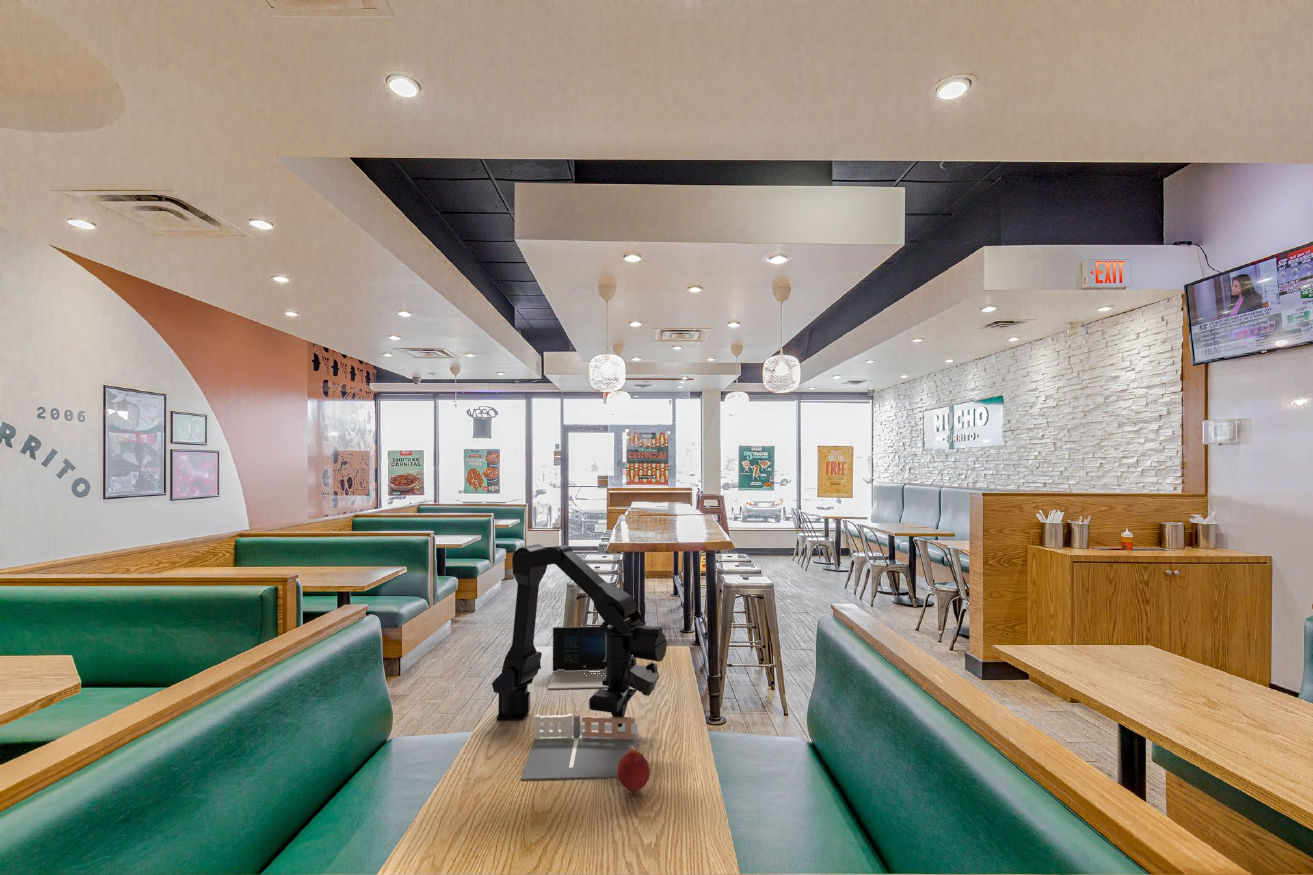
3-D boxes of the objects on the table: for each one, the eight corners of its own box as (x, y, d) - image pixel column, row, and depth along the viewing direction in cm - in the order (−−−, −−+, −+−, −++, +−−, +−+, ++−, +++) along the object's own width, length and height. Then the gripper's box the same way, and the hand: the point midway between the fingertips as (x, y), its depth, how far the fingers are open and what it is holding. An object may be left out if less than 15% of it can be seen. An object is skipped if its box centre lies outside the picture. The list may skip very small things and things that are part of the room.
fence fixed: (534, 739, 126) (535, 716, 126) (535, 737, 127) (535, 714, 127) (571, 738, 126) (571, 715, 127) (572, 736, 127) (572, 713, 128)
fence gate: (572, 737, 126) (572, 716, 126) (574, 734, 128) (574, 714, 128) (634, 740, 125) (634, 719, 125) (634, 737, 126) (635, 716, 126)
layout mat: (520, 780, 111) (520, 778, 111) (538, 727, 132) (538, 725, 133) (638, 777, 112) (638, 775, 112) (637, 725, 134) (637, 723, 134)
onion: (654, 786, 108) (654, 742, 109) (643, 804, 103) (643, 757, 103) (624, 781, 110) (624, 737, 111) (612, 797, 105) (612, 751, 105)
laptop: (547, 691, 154) (548, 640, 155) (552, 673, 167) (552, 626, 167) (617, 689, 155) (617, 638, 156) (616, 672, 168) (616, 625, 168)
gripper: (639, 674, 117) (640, 754, 117) (667, 643, 134) (667, 712, 134) (587, 668, 120) (588, 745, 120) (621, 638, 138) (622, 705, 138)
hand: (619, 726), depth 128 cm, fingers closed
